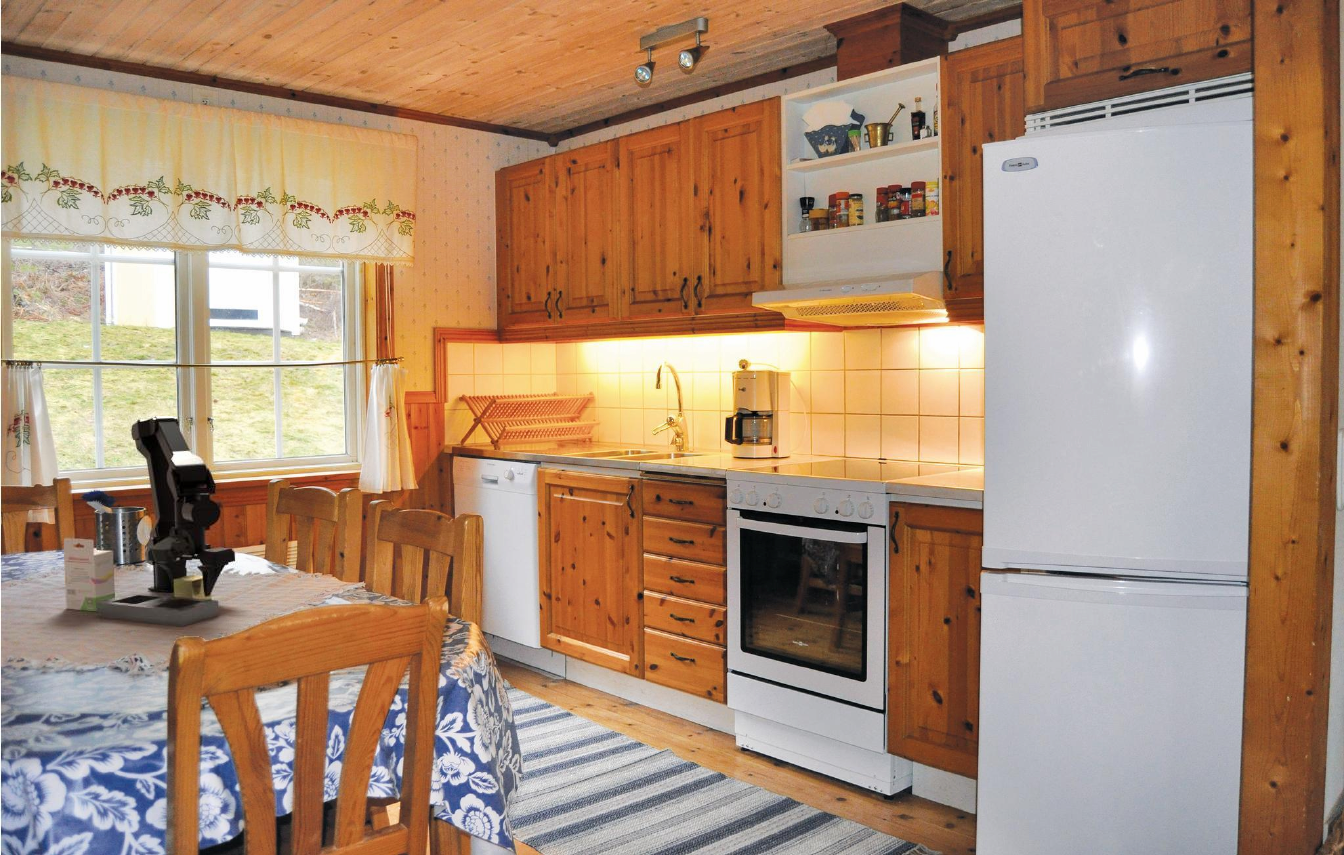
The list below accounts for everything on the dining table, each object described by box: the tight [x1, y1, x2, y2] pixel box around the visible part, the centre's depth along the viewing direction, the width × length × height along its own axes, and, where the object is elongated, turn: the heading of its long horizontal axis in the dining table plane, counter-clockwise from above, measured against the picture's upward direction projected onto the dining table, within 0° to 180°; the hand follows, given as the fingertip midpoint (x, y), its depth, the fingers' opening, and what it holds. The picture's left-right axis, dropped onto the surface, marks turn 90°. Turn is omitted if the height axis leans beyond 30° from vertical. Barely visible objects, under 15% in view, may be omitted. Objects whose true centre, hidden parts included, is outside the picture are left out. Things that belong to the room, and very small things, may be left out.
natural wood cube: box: [173, 574, 212, 600], centre depth 214 cm, size 5×5×5 cm
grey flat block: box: [96, 592, 220, 628], centre depth 200 cm, size 22×9×3 cm, turn 69°
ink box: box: [63, 537, 116, 612], centre depth 208 cm, size 9×5×15 cm, turn 71°
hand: (192, 594), depth 214 cm, fingers open, 8 cm apart
